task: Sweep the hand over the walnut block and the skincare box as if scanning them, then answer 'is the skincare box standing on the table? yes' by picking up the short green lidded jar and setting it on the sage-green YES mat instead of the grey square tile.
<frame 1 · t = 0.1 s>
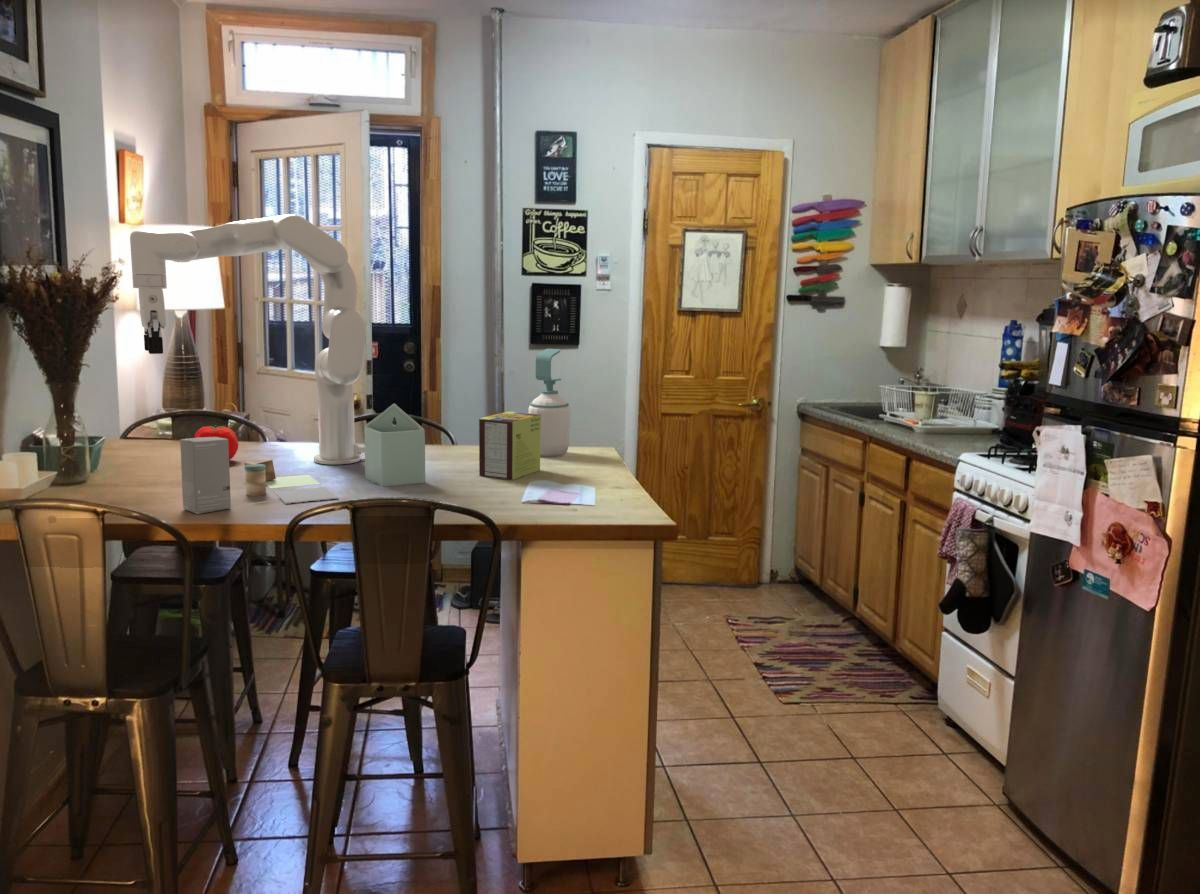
hand: (153, 352, 235), 31 cm above the countertop, fingers open, 9 cm apart
green lidded jar: (256, 495, 221), on the countertop
grey square tile: (305, 496, 221), on the countertop
protein box: (510, 473, 253), on the countertop
skincare box: (207, 509, 208), on the countertop
walnut block: (261, 480, 235), on the countertop, tilted 8°, touching yes mat
soap bottle: (548, 455, 281), on the countertop
tomato: (216, 463, 258), on the countertop
planter: (389, 484, 237), on the countertop
yes mat: (290, 482, 235), on the countertop
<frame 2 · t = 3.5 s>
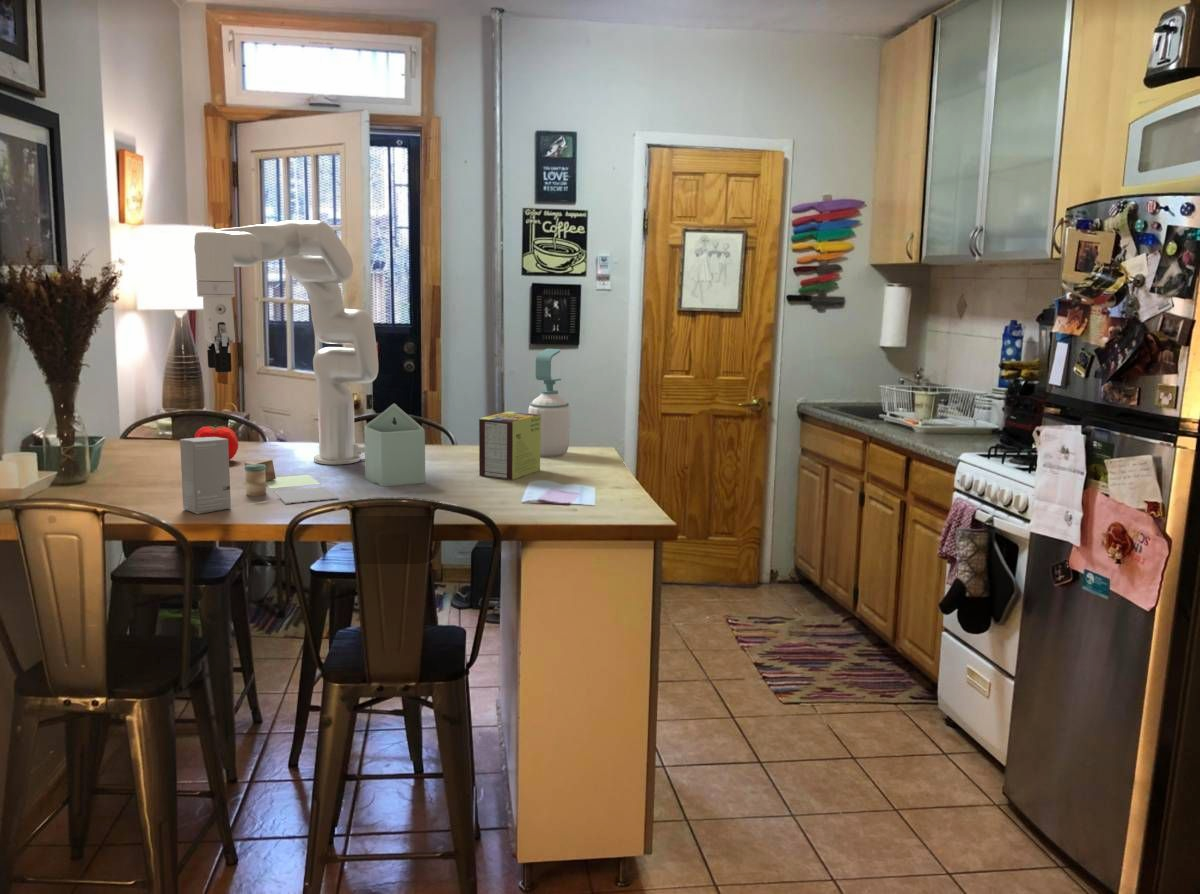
hand: (219, 369, 205), 30 cm above the countertop, fingers open, 9 cm apart
nothing on the countertop moved.
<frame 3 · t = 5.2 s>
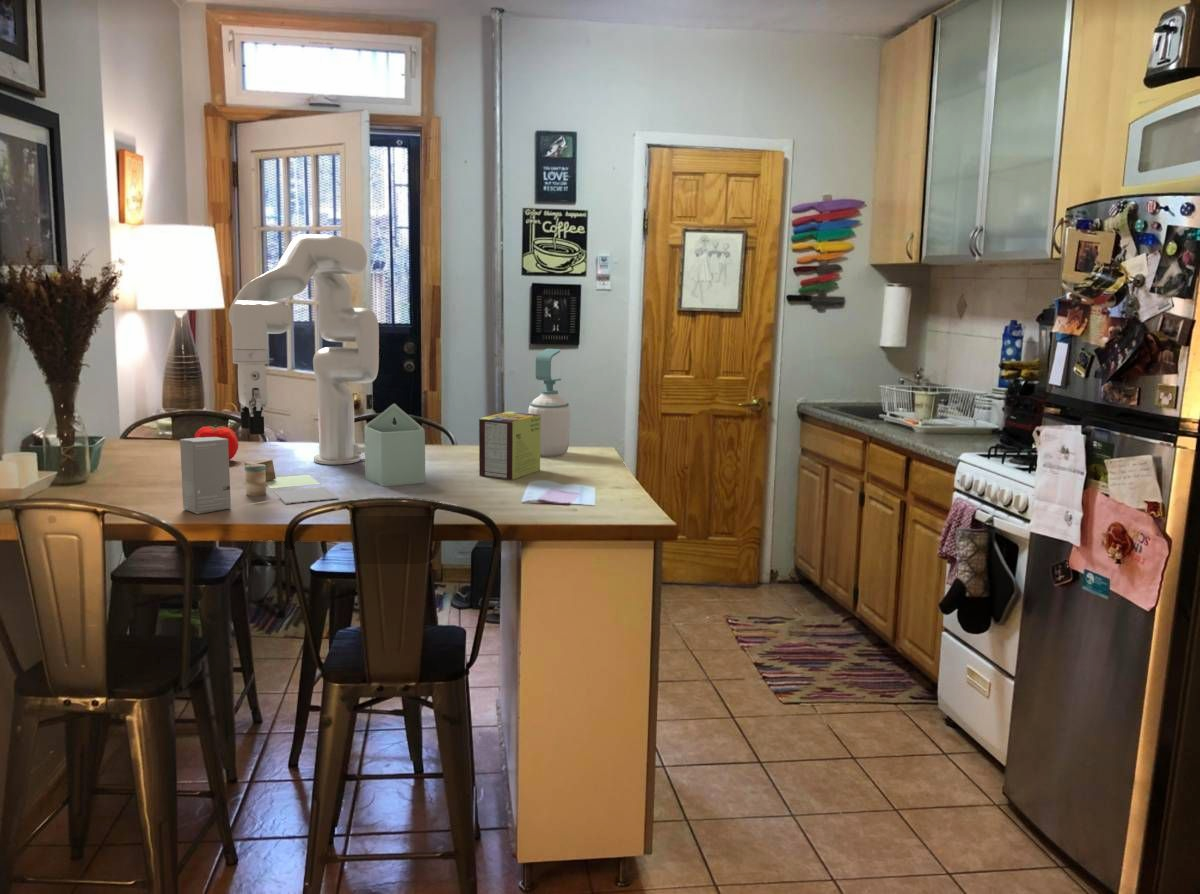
hand: (252, 431, 218), 15 cm above the countertop, fingers open, 9 cm apart
nothing on the countertop moved.
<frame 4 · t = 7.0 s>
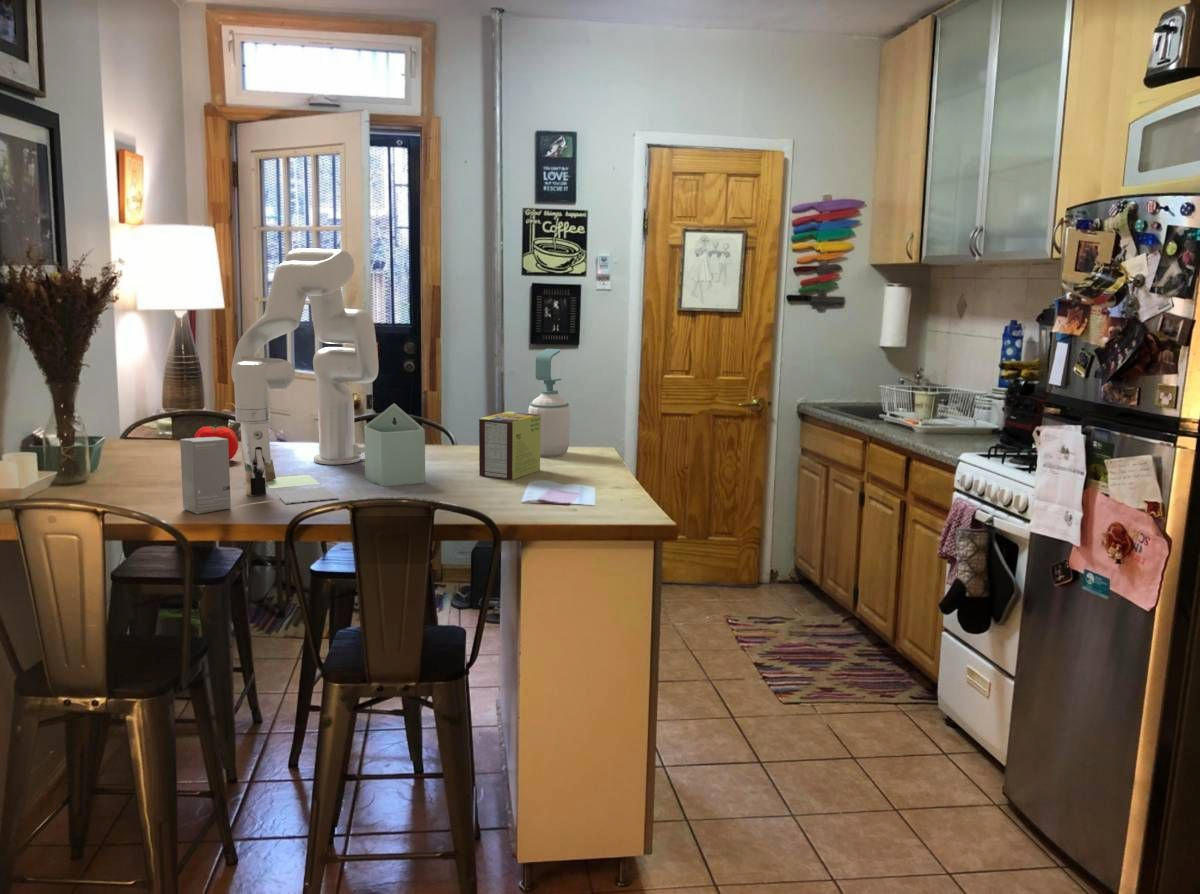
hand: (256, 491, 221), 1 cm above the countertop, fingers closed on green lidded jar, 4 cm apart
green lidded jar: (256, 495, 221), on the countertop, touching gripper
everything else where it was.
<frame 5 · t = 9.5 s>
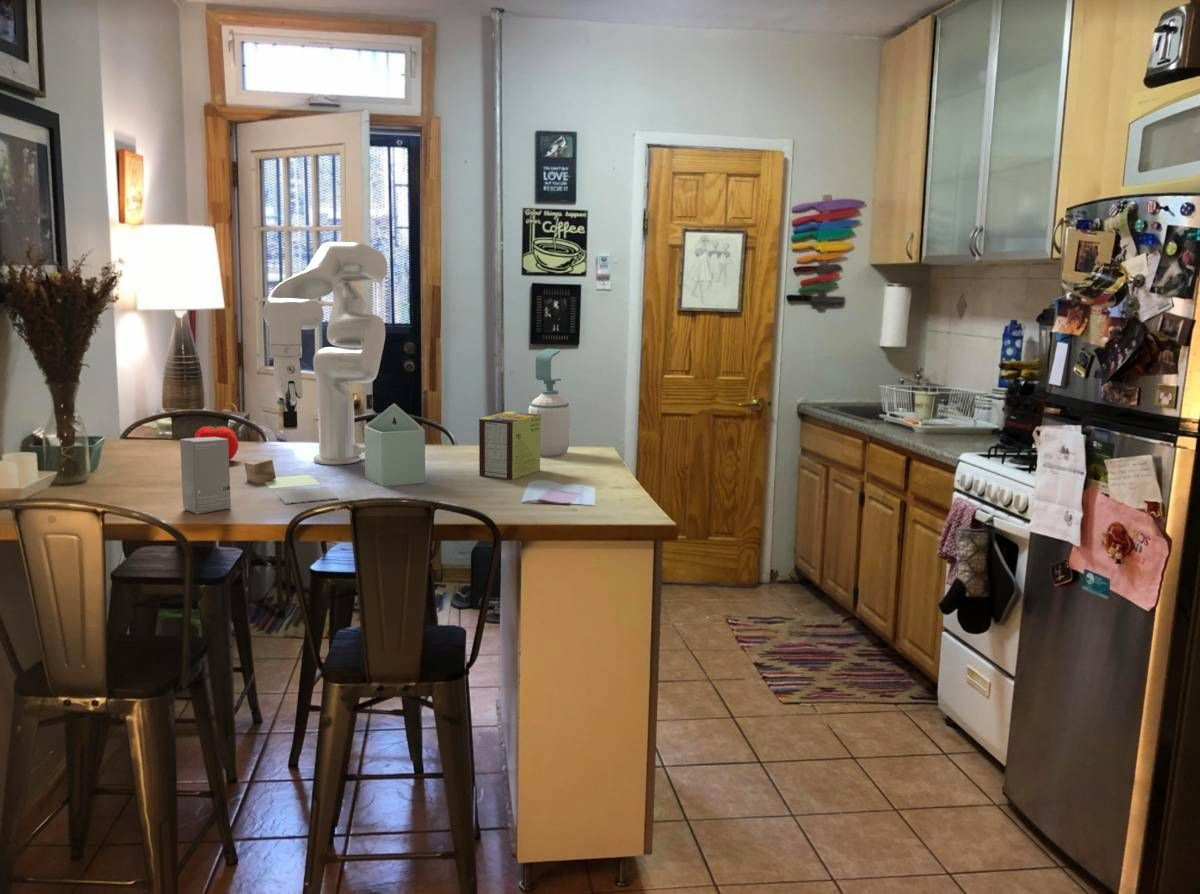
hand: (288, 425, 232), 15 cm above the countertop, fingers closed on green lidded jar, 4 cm apart
green lidded jar: (288, 428, 232), point 14 cm above the countertop, touching gripper
everything else where it was.
when the fingers open (2 cm above the countertop, at t = 11.9 s): green lidded jar drops 1 cm, resting on yes mat.
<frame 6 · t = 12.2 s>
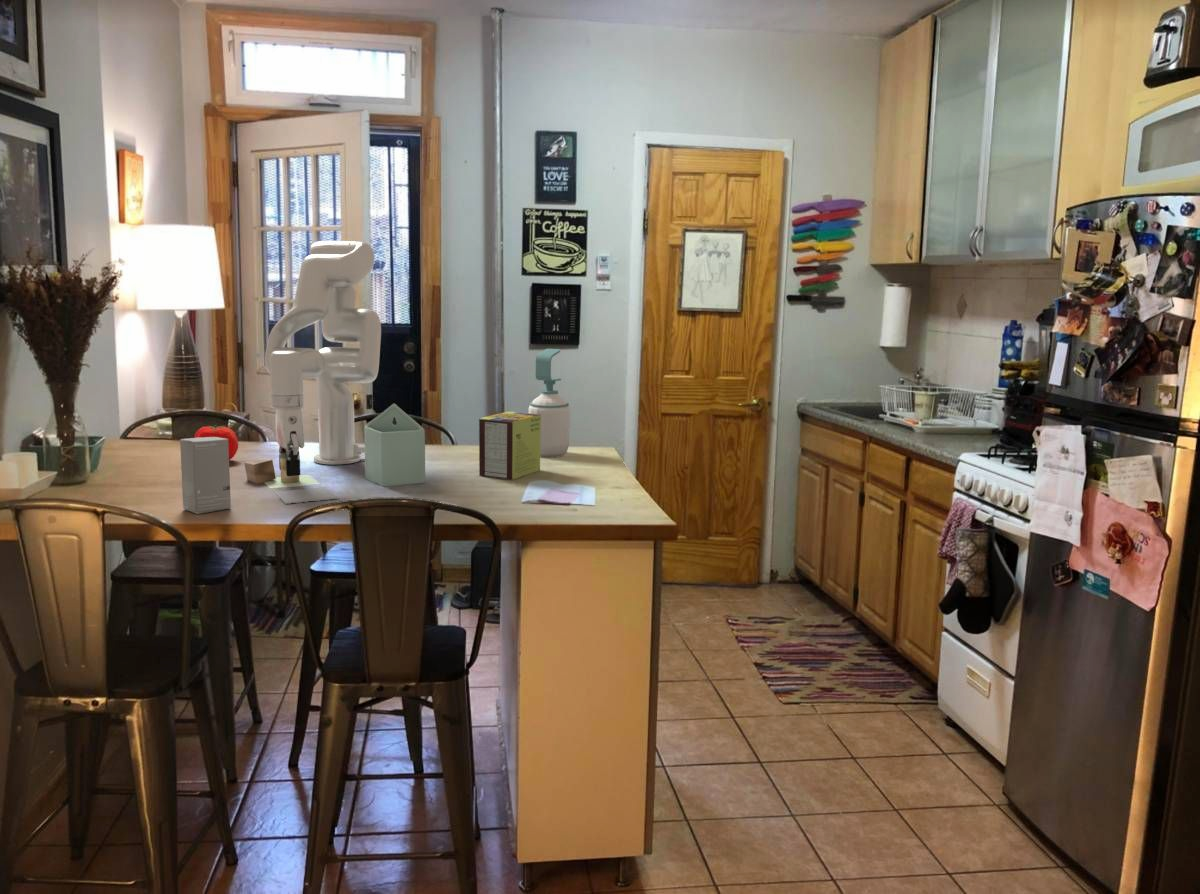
hand: (289, 472, 234), 3 cm above the countertop, fingers open, 7 cm apart
green lidded jar: (290, 481, 235), resting on yes mat
everything else where it was.
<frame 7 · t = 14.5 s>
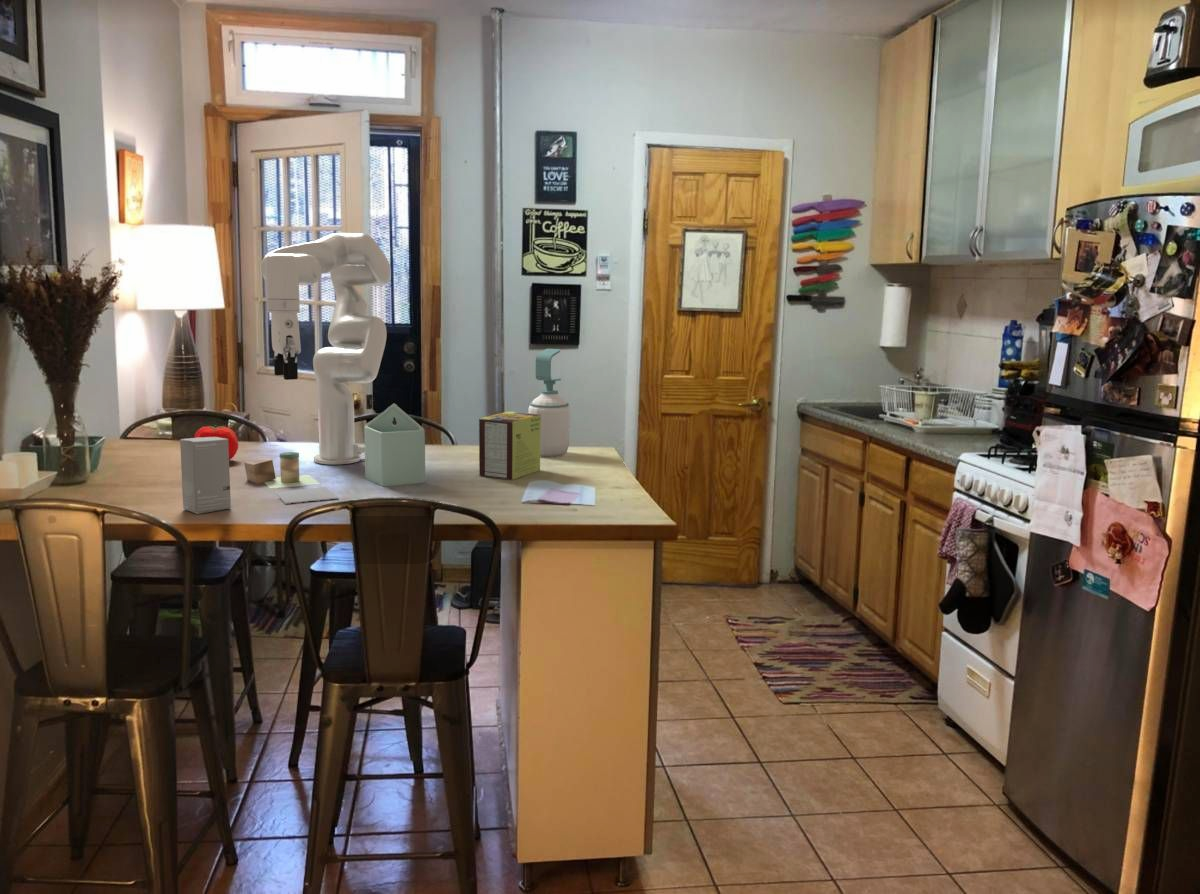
hand: (286, 377, 230), 26 cm above the countertop, fingers open, 9 cm apart
nothing on the countertop moved.
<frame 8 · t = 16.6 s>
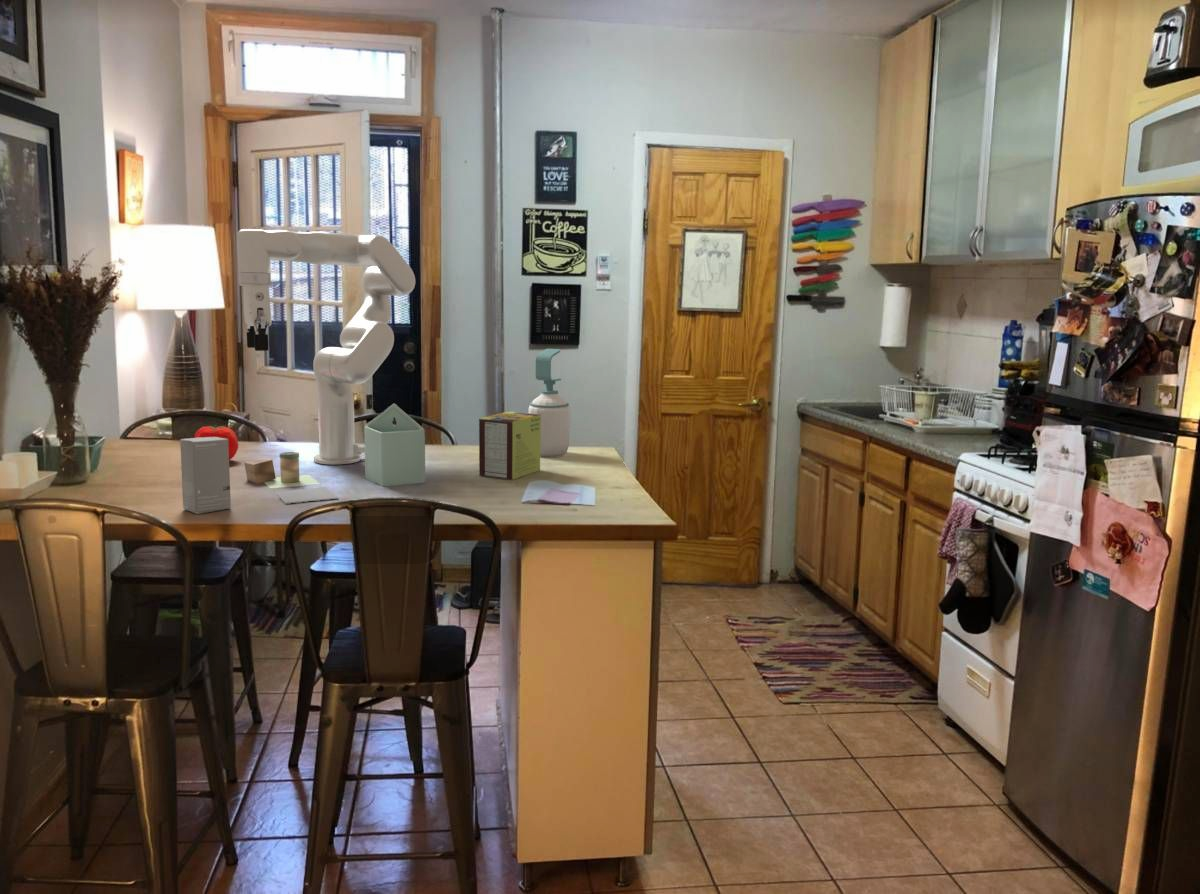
hand: (257, 349, 238), 32 cm above the countertop, fingers open, 9 cm apart
nothing on the countertop moved.
at the end: green lidded jar inside the target area on the yes mat (0.0 cm from its centre), point 0.4 cm above the yes mat's base; green lidded jar tilted 0°; the gripper is holding nothing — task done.
